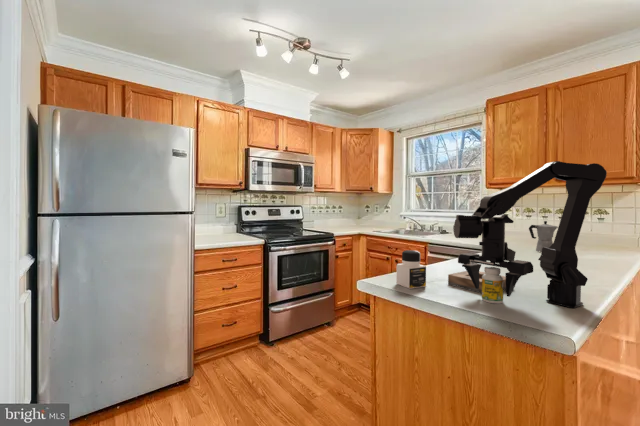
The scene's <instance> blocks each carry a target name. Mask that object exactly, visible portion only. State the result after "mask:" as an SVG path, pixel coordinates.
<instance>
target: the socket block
mask: <svg viewBox="0 0 640 426" xmlns="http://www.w3.org/2000/svg"><path fill="white" fill-rule="evenodd" d="M484 274H486V273H485V271H480V270H479V288H478V289H476V288H475V286H474V284H473V282H472V280H471V278H470V276H469V274H468V272H467V270H465V271H464V270H463V271H459V272H453V273H449V274H447V276H448V277H447V281H448V282H447V283H448V286H449V285H450V286H453V287H457V288H461V289H465V290H468V291H473V292H477V293H480V294H482V276H483V275H484ZM499 275H500V276H502V277H503V291H506V276H505V275H501V274H499Z"/></svg>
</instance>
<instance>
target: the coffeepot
mask: <svg viewBox="0 0 640 426" xmlns="http://www.w3.org/2000/svg"><path fill="white" fill-rule="evenodd" d="M547 223H548V221H547V220H544V221H543V224H531V225H530V226H529V227H528V231H529V233H530V236H531V239H533V240H534V239H537V237H538V240H537V243H536V247H535V251H536V252H541V253H542V248H543V247H546V248H549V247H550V246H551V245H552V244H553V243H554V241H553V238H554V233H555V231H556V230H557V229H558V227H559V226H556V225H551V224H547ZM533 229H536V233H537V237H536V236H535V235H534V234H535V233H534V230H533Z"/></svg>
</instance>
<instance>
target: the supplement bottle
mask: <svg viewBox="0 0 640 426" xmlns="http://www.w3.org/2000/svg"><path fill="white" fill-rule="evenodd" d="M483 272H485V273H486V274H484V275H483V276H482V293H481V299H482V301H483V302H485V303H490V304H502V303H503V302H504V290H503V277H502V276H503V275H501V267H497V266H485V267H484V271H483ZM500 275H501V276H500Z"/></svg>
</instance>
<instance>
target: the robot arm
mask: <svg viewBox="0 0 640 426" xmlns="http://www.w3.org/2000/svg"><path fill="white" fill-rule="evenodd" d="M607 173H608V171H607V169H605V167H604V166H603V165H602V164H599V163H588V164H585V163H575V162H574V163H571V162H564V161H559V160H554V161H551V162H547V163H545V164H544V165H543V166H541V167H540V168H538V169H536V170H535V171H533V172H531V173H530V174H528V175H526V176H525V177H524V178H521V179H519V180H518V181H517V182H515V183H513V184H512V185H510V186H508V187H506V188H504V189H500V190H499V191H496V192H493V193H490V194H488V195H485V196H483V198H481V199H480V201H479V206H478V207H477V209H476V210H475V211H474V212H473V214H472V215H465V214H456V215H455V216H456V217H455V220H454V225H453V229H452V230H453V236H454V238H456V239H478V238H479V237H481V241H479V242H478V245H479V246H481V255H480V254H478V253H474V252H473V253H471V252H466V253H465V252H464V253H460V254H459V255H458V257H457V263H458V264H461V266H462V267H463V268H464V269H465V271H467V272H468V274H469V276H470V278H471V280H472V282H473V284H474V286H475V288H476V289H478V288H479V271H480V269H481V268H482V265H486V266H490V267H496V268H504V269H506V270H507V272H505V274H504V276H506V290H505V293H506V294H505V295H506V297H507V298H508V297H511V296H512V293H513V291H514V289H515V287H516V285H517V283H518V281H519V279H520V278H521V277H522V276H527V274H532V273H534V265H533V263H532V262H531V261H526V260H522V259H521V260H519V259H516V260H515V258H516V257H515V256H516V252H517V251H516V250H514V249H511V248H509V247H508V242H507V241H505V240H506V239H505V238H506V224H514V220H513V219H512V218H510V217H509V216H508V214H506V213H508V211H509V210H510V209H512V208H513V207H514V206H515V205H516V203H517V202H518V201H520V199H522V198H523V197H525V196H526V195H528V194H530V193H531V192H533V191H534V190H536V189H539V188H540V187H542V186H543V185H545V184H546V183H548V182H550V181H551V180H553V179H556V180H559V181H564V182H565V188H566V192H567V198H566V201H565V205H564V207H563V211H562V214H561V217H560V221H559V224H558V226H557V227H558V228H557V229H556V230H557V231H556V235H555V237H554V241H553V244H552V245H551V246H550V247H549V248H546V247H543V248H542V252H541V253H540V257H539V258H538V261H539V266H540V268H541V270H542V271H543V272H544V273H545V276H546V278H547V279H549V283H548V284H547V292H546V293H547V294H546V295H547V297H546V298H547V299H546V303H550V304H554V305H558V306H562V307H568V308H571V309H575V308H578V307H580V306H583V305H584V302H582V297H581V296H582V295H581V294H582V293H581V291H582V287H584V286H586V284H587V282H588V278H587V276H585V275H584V273H582V272H581V271H580V270H579V269H578V264H579V262H578V261H579V258H578V254H577V251H576V246H577V243H578V240H579V236H580V233H581V230H582V228H583V225H584V224H583V223H584V221H585V217H586V215H587V210H588V208H589V204H590V202H591V199H592V197H593V196H594V195H595V194H596V193H597V192H598V191H599V190H600V189H601V188H602V186H603V184H604V183H605V181H606V178H607V176H608V175H607ZM499 216H500V217H499Z"/></svg>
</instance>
